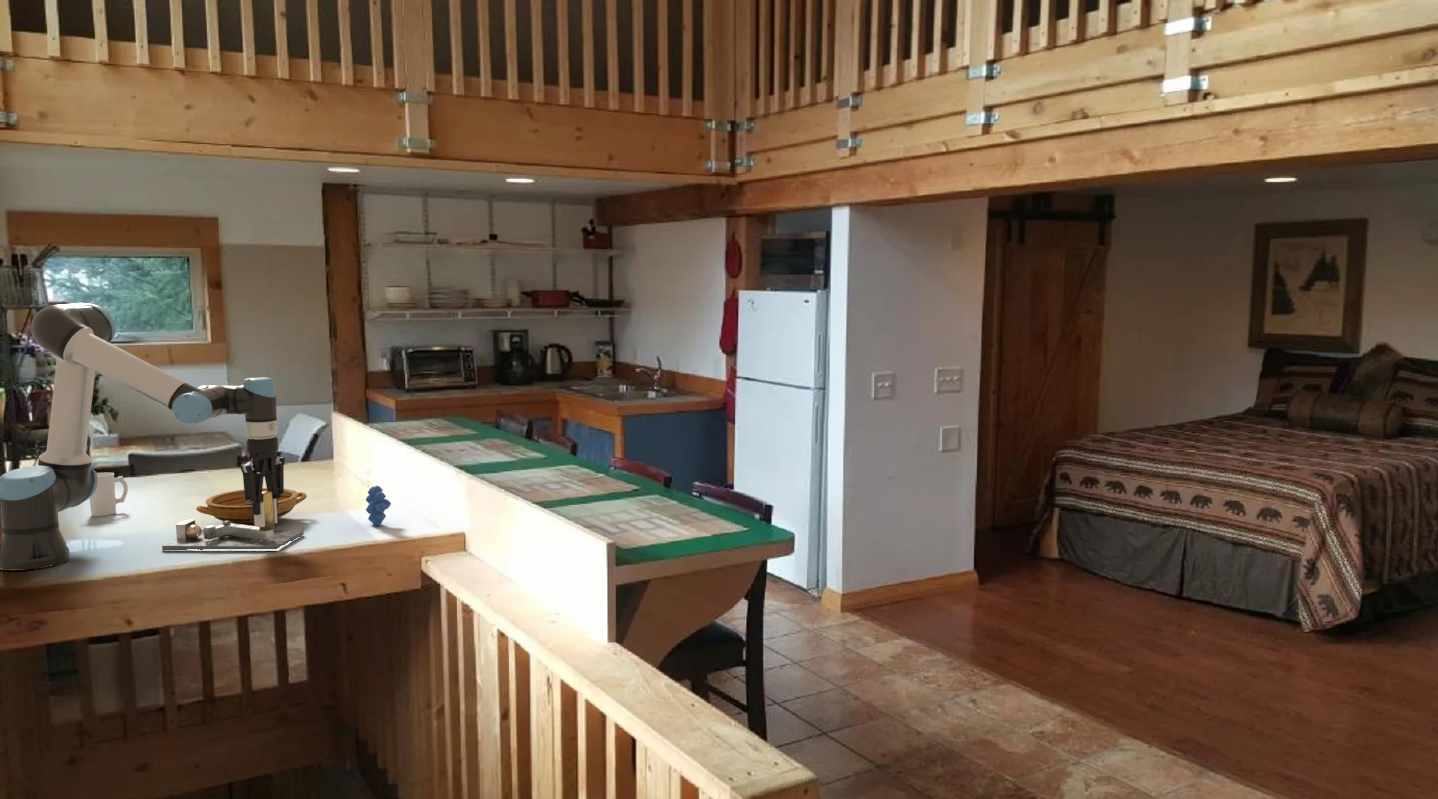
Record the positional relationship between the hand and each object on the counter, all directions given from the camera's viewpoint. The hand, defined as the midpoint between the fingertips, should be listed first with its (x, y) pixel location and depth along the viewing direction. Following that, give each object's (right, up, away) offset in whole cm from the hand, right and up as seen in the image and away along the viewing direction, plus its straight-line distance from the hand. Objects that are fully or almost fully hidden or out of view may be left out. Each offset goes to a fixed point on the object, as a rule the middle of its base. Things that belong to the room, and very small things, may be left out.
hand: (266, 524), depth 261 cm
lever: (-7, -4, +1) cm, 8 cm away
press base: (-10, -6, +4) cm, 12 cm away
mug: (-64, -1, +36) cm, 73 cm away
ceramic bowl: (-15, -3, +25) cm, 29 cm away
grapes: (+22, -3, +23) cm, 32 cm away
